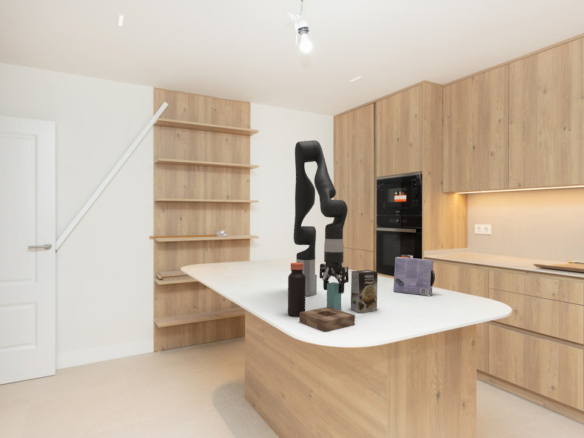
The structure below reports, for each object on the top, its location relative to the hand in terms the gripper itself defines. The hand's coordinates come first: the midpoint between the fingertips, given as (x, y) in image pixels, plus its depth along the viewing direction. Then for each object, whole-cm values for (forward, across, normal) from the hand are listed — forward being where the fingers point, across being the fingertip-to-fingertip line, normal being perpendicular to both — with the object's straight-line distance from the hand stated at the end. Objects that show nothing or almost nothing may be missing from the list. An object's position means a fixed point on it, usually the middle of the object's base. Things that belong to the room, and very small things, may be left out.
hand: (333, 291), depth 147 cm
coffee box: (+9, -3, -15) cm, 17 cm away
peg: (+9, 0, 0) cm, 9 cm away
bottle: (+9, +8, +12) cm, 17 cm away
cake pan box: (+8, +6, -60) cm, 60 cm away
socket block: (+9, -8, +10) cm, 16 cm away
